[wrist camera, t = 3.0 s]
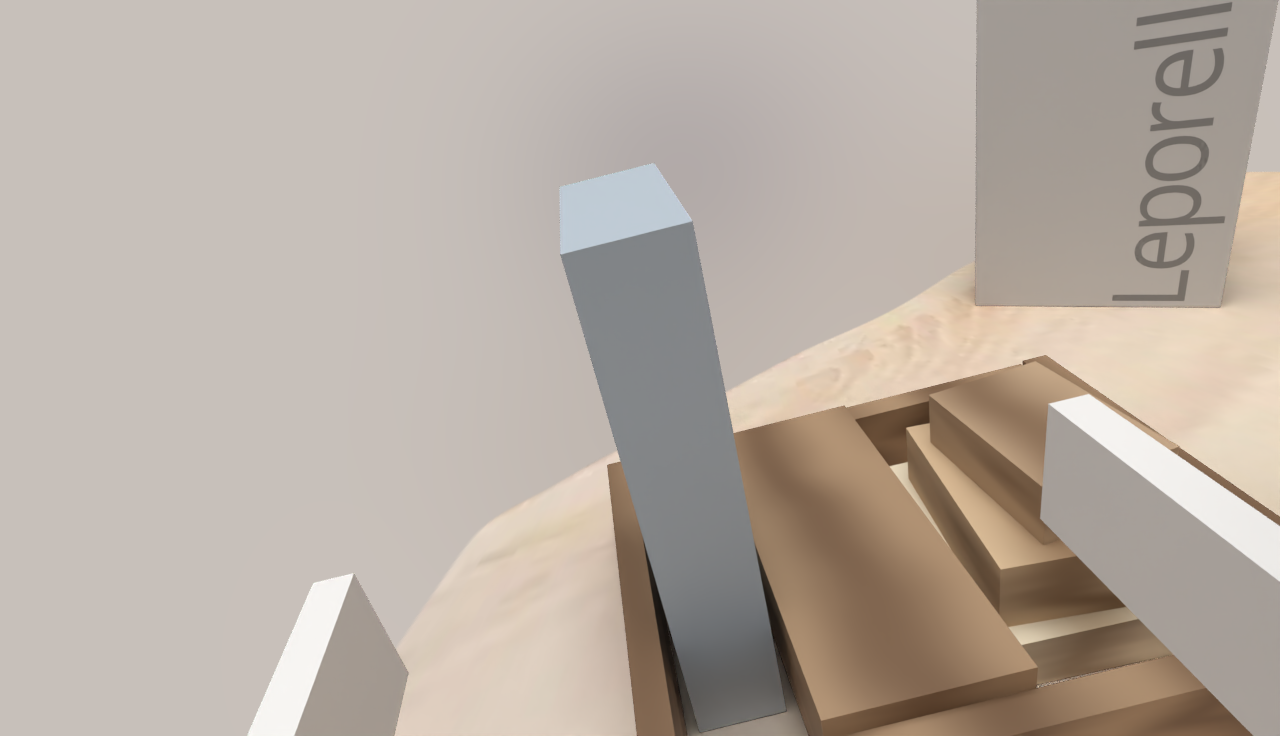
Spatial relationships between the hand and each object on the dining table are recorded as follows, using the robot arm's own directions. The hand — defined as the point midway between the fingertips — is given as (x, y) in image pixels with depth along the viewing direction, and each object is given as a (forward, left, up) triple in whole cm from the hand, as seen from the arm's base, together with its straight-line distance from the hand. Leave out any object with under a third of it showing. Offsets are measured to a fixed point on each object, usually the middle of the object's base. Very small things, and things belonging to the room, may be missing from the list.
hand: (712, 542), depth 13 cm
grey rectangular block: (0, -11, -16) cm, 20 cm away
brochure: (-32, -33, -16) cm, 49 cm away
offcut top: (-14, -11, -11) cm, 21 cm away
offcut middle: (-13, -11, -14) cm, 22 cm away
